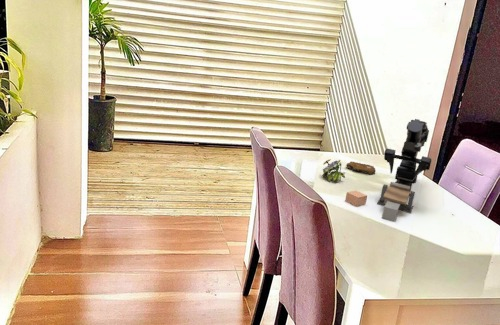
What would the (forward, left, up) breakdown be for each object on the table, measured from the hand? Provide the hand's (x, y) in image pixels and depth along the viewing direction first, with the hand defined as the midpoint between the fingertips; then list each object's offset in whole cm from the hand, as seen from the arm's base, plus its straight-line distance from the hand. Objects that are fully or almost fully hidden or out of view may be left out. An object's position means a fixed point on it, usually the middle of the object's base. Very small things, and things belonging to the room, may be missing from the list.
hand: (402, 175), depth 193 cm
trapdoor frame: (0, 0, -14) cm, 14 cm away
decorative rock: (+1, -47, -14) cm, 49 cm away
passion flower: (+20, -29, -14) cm, 38 cm away
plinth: (+17, 0, -14) cm, 22 cm away
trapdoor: (+2, +3, -8) cm, 9 cm away
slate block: (+5, +8, -11) cm, 15 cm away
